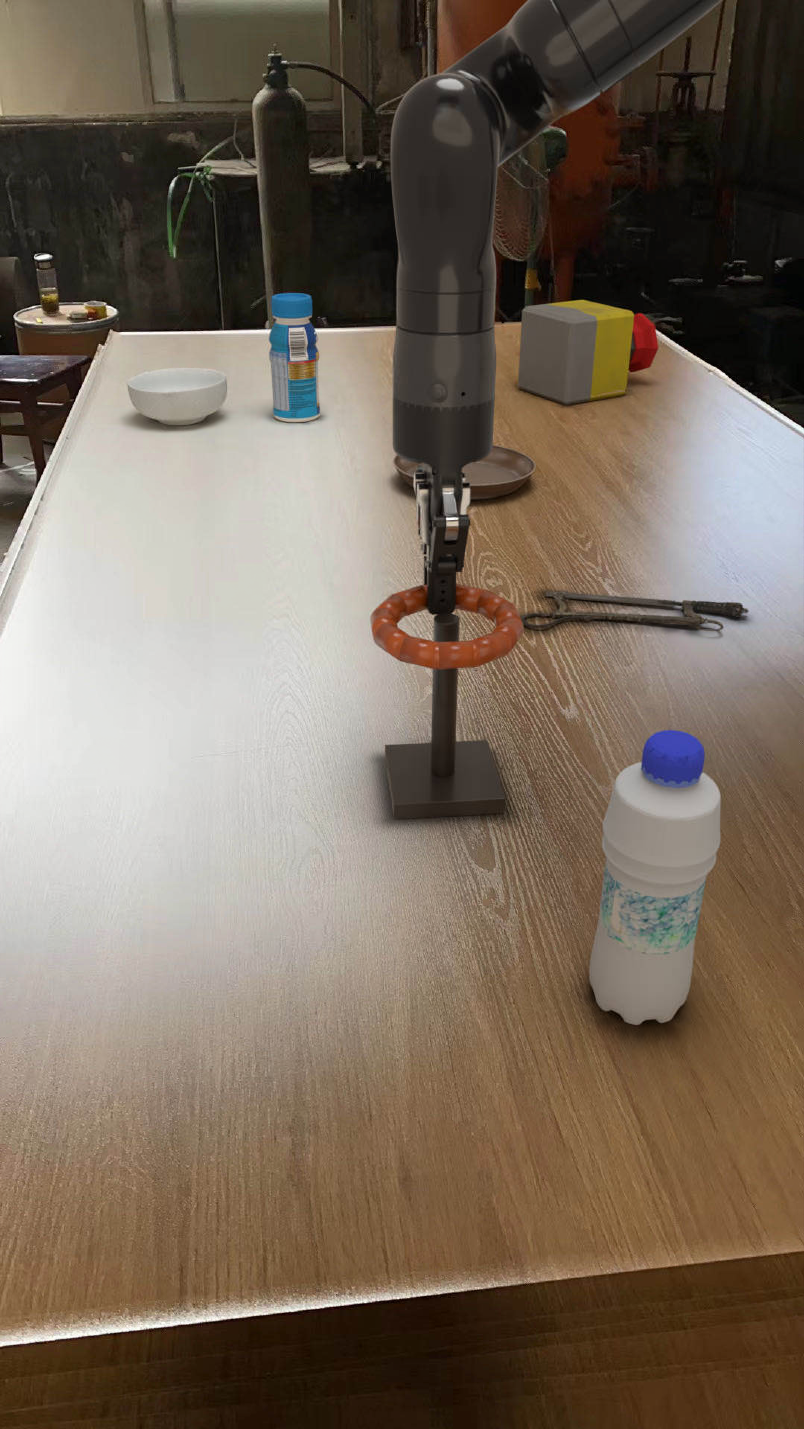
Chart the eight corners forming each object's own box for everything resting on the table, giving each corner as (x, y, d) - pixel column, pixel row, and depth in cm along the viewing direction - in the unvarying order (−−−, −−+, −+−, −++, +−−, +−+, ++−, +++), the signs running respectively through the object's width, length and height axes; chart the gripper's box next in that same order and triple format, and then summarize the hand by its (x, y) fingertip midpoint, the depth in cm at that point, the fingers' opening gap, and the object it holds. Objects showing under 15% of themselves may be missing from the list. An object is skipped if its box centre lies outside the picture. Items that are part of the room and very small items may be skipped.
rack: (486, 754, 96) (494, 592, 88) (504, 813, 88) (515, 642, 80) (384, 759, 95) (383, 596, 87) (393, 819, 87) (393, 647, 79)
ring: (506, 599, 90) (507, 577, 89) (534, 669, 80) (536, 645, 79) (366, 605, 89) (366, 583, 88) (377, 677, 79) (377, 653, 78)
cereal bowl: (162, 403, 198) (158, 363, 194) (245, 411, 193) (243, 370, 190) (113, 428, 184) (107, 385, 180) (201, 437, 179) (197, 393, 176)
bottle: (643, 952, 74) (681, 697, 64) (711, 1017, 69) (764, 750, 59) (562, 986, 71) (589, 724, 61) (626, 1056, 66) (667, 783, 56)
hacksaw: (747, 613, 121) (749, 600, 120) (748, 654, 113) (751, 641, 112) (531, 590, 126) (532, 578, 125) (517, 628, 118) (518, 615, 117)
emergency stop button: (664, 389, 208) (675, 306, 200) (565, 406, 197) (572, 319, 189) (612, 373, 219) (620, 294, 211) (515, 388, 208) (520, 306, 200)
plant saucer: (506, 456, 170) (507, 435, 169) (555, 500, 153) (557, 477, 152) (378, 467, 166) (378, 445, 164) (414, 512, 149) (415, 489, 147)
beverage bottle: (263, 420, 188) (256, 298, 178) (286, 408, 195) (281, 290, 185) (307, 425, 185) (302, 302, 175) (329, 413, 192) (325, 293, 182)
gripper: (511, 413, 74) (498, 641, 83) (479, 367, 86) (471, 570, 95) (401, 416, 73) (400, 645, 82) (385, 368, 85) (385, 573, 94)
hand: (438, 604), depth 88 cm, fingers closed on ring, 2 cm apart
